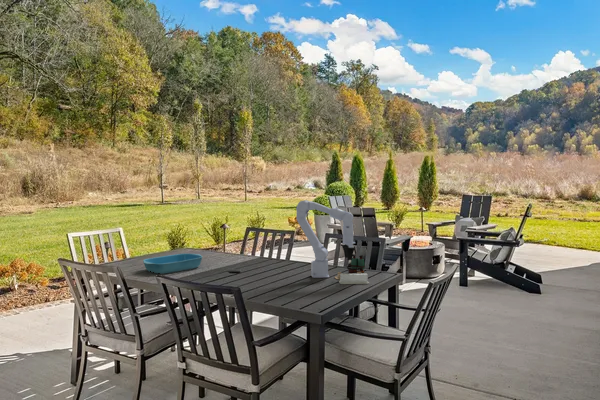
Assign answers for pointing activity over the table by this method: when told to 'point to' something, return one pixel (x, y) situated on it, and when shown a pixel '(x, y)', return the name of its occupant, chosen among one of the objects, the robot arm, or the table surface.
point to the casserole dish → (172, 263)
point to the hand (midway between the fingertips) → (348, 258)
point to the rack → (340, 273)
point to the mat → (353, 282)
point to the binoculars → (356, 265)
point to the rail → (354, 277)
